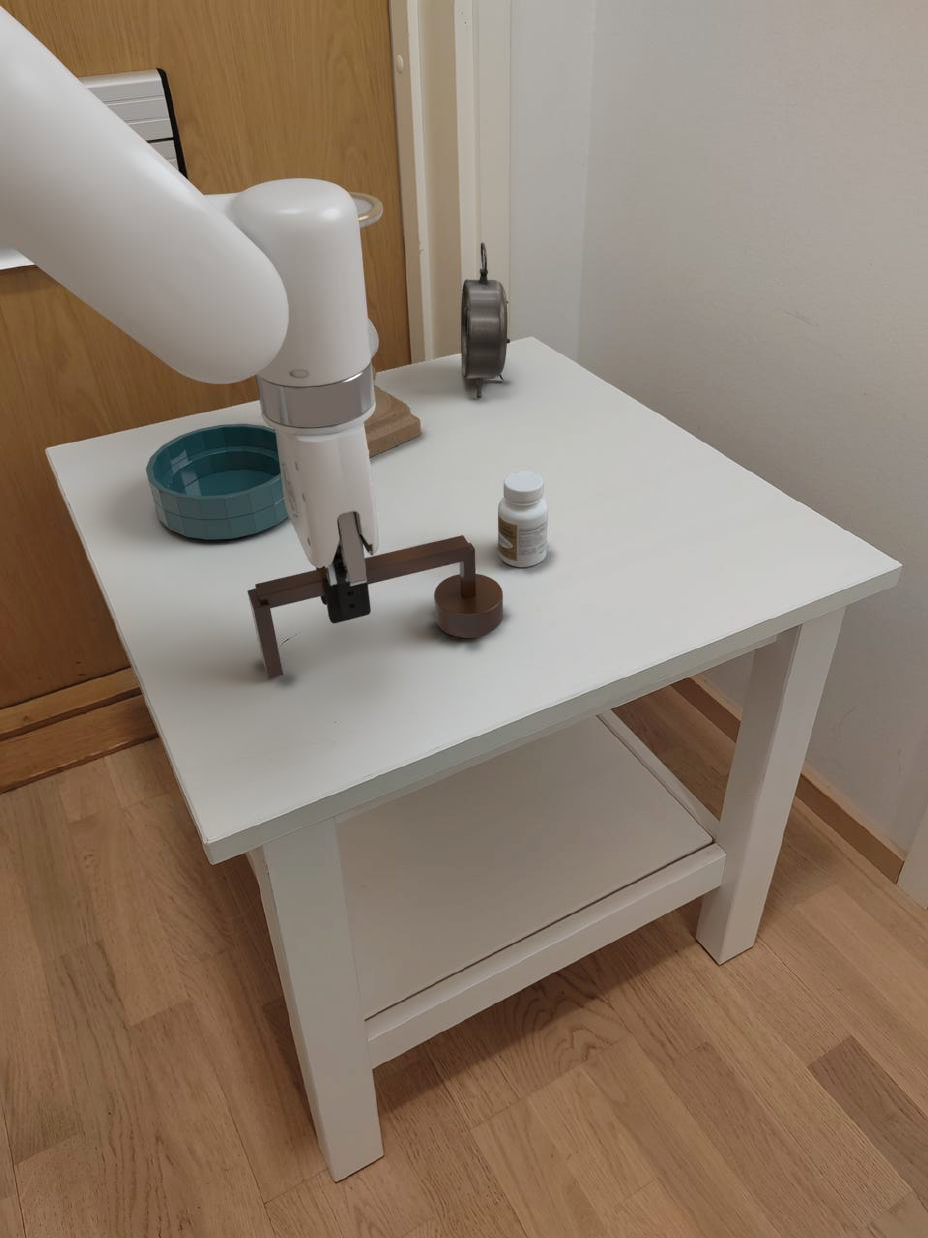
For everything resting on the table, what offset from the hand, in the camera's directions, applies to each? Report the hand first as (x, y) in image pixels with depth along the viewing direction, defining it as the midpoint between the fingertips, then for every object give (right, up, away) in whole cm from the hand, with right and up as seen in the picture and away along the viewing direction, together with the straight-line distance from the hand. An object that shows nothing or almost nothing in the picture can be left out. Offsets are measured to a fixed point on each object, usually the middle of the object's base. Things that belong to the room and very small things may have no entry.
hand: (345, 606), depth 74 cm
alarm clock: (+12, +27, +40) cm, 50 cm away
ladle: (+3, -2, +3) cm, 5 cm away
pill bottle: (+14, +5, +13) cm, 20 cm away
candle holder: (-3, +19, +31) cm, 37 cm away
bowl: (-14, +11, +21) cm, 27 cm away
